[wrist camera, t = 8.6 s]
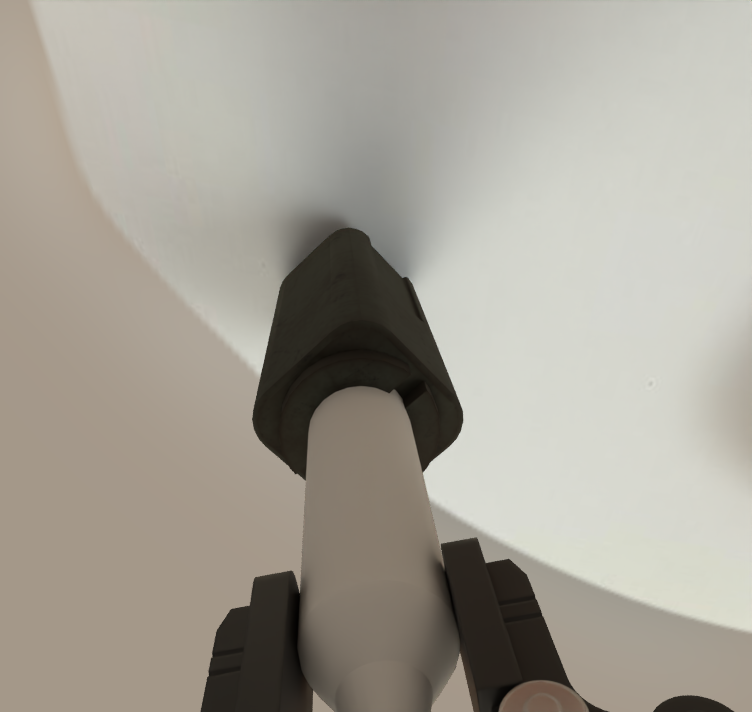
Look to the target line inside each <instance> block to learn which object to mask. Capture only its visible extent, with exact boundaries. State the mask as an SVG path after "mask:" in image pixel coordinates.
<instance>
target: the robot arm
mask: <svg viewBox="0 0 752 712" xmlns="http://www.w3.org/2000/svg"><path fill="white" fill-rule="evenodd" d="M441 550H442V556H443V562H444V568H445V574H446V578H447V582H448V586H449V591H450V595H451V599H452V603H453V608H454V612H455V616H456V621H457V625H458V630H459V637H460V653H461V657H462V662H463V666H464V670H465V675H466V679H467V684H468V688H469V692H470V696H471V701H472V706H473V710H474V712H608V711H604V710H602V709H600V708H597V707H595V706H593V705H592V704H590V703H588V702H587V701H586V700H584V699H583V698H582V697H581V696H580V695H579V694H578V693H577V692H576V691H575V690H574V689H573V687H572V686H571V684H570V682H569V680H568V678H567V676H566V673H565V671H564V668H563V665H562V663H561V660H560V658H559V655H558V653H557V650H556V648H555V645H554V643H553V640H552V638H551V635H550V632H549V630H548V627H547V625H546V623H545V620H544V618H543V616H542V613H541V610H540V607H539V605H538V602H537V600H536V599H535V594H534V592H533V589H532V587H531V584H530V582H529V579H528V577H527V575H526V574H525V573H524V572H523V571H522V570H521V569H520V568H519V567H517V566H516V565H515V564H514V563H513V562H512V561H511V560H510V559H506V560H500V561H495V562H490V563H485V560H484V557H483V554H482V551H481V548H480V545H479V542H478V539H477V538H470V539H465V540H460V541H454V542H448V543H443V544H441ZM299 603H300V593H299V589H298V585H297V582H296V578H295V575H294V573H293V571H287V572H282V573H277V574H270V575H265V576H260V577H255V579H254V582H253V588H252V595H251V602H250V606H245V607H240V608H235V609H231V610H230V612H229V613H228V615H227V616H226V618H225V619H224V621H223V622H222V624H221V625H220V627H219V628H218V629H217V632H216V637H215V642H214V647H213V652H212V655H213V658H211V662H210V667H209V677H207V682H206V687H205V692H204V697H203V702H202V708H201V712H312V704H313V689H312V688H311V687H310V685H309V683H308V682H307V680H306V678H305V676H304V674H303V673H302V670H301V665H300V660H299V655H298V649H297V641H298V622H299ZM653 712H734V711H732V710H731V709H729V708H728V707H726V706H725V705H723V704H721V703H719V702H717V701H714V700H711V699H708V698H704V697H700V696H678V697H673V698H671V699H668V700H666V701H664V702H662V703H661V704H660V705H659V706H657V707H656V709H655V710H654V711H653Z"/></svg>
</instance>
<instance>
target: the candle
mask: <svg viewBox="0 0 752 712" xmlns="http://www.w3.org/2000/svg"><path fill="white" fill-rule="evenodd" d="M252 420H253V426H254V430H255V432H256V434H257V436H258V438H259V440H260V441H261V442H262V443H263V444H264V445H265V446H266V447H267V448H268V449H269V450H271V451H272V452H273V453H274V454H275V455H276V456H278V457H279V458H280V459H281V460H282V461H283V462H285V463H286V464H287V465H288V466H289V467H290V469H291V470H292V471H293V472H294V473H295V474H299V475H300V476H301V477H302V478H303V479H304V480H306V488H305V507H304V526H303V528H304V529H303V547H302V565H301V584H300V603H299V622H298V641H297V649H298V655H299V660H300V665H301V670H302V673H303V674H304V676H305V678H306V680H307V682H308V683H309V685H310V687H311V688H312V689H313V690H314V691H315V692H316V693H317V695H318V696H319V697H320V698H321V699H322V700H323V701H324V702H325V703H326V704H327V705H328V706H329V707H330V708H331V709H332V710H333V711H334V712H431V707H432V704H433V703H434V702H435V701H436V699H437V698H438V696H439V695H440V693H441V692H442V690H443V688H444V687H445V685H446V684H447V682H448V680H449V679H450V677H451V675H452V673H453V672H454V670H455V668H456V664H457V661H458V657H459V653H460V637H459V630H458V625H457V621H456V616H455V612H454V608H453V603H452V599H451V595H450V591H449V586H448V582H447V578H446V574H445V568H444V562H443V557H442V553H441V549H440V545H439V541H438V536H437V532H436V528H435V524H434V520H433V515H432V511H431V507H430V503H429V498H428V494H427V490H426V486H425V482H424V477H423V472H424V471H425V469H426V468H427V467H428V465H429V463H430V462H431V461H432V460H433V459H435V458H436V457H437V456H438V455H440V454H441V453H442V452H443V451H444V450H446V449H447V448H448V447H449V446H450V445H451V444H452V443H453V442H454V441H455V440H456V439H457V437H458V435H459V433H460V431H461V428H462V424H463V410H462V408H461V405H460V402H459V400H458V397H457V395H456V392H455V390H454V387H453V385H452V382H451V380H450V377H449V375H448V372H447V370H446V367H445V365H444V362H443V360H442V357H441V355H440V352H439V350H438V347H437V345H436V342H435V340H434V337H433V335H432V332H431V330H430V327H429V325H428V322H427V320H426V317H425V315H424V312H423V310H422V307H421V305H420V302H419V300H418V297H417V295H416V292H415V290H414V287H413V285H412V283H411V282H410V280H409V279H408V278H407V277H404V278H402V277H401V276H400V275H399V274H398V273H397V272H396V271H395V270H394V269H393V268H392V267H391V266H390V265H389V264H388V263H387V262H386V261H385V259H384V258H383V257H382V256H381V255H380V254H379V253H378V252H377V251H376V250H375V249H374V248H373V247H372V246H371V243H370V239H369V237H368V236H367V235H366V234H365V233H364V232H362V231H360V230H357V229H353V228H343V229H340V230H337V231H335V232H334V233H332V234H331V235H330V236H329V237H328V238H327V239H325V240H324V241H323V242H322V243H321V244H320V245H319V246H318V247H317V248H316V249H315V250H314V251H313V252H312V253H311V254H310V255H309V256H308V257H307V258H306V259H305V260H303V261H302V262H301V263H300V264H299V265H298V266H297V267H296V268H295V269H294V270H293V271H292V272H291V273H290V274H289V275H288V276H287V277H286V278H285V279H284V281H283V282H282V284H281V287H280V291H279V295H278V300H277V304H276V309H275V314H274V318H273V323H272V327H271V332H270V336H269V341H268V346H267V350H266V355H265V359H264V364H263V368H262V373H261V378H260V382H259V387H258V391H257V396H256V401H255V405H254V410H253V418H252Z"/></svg>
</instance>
